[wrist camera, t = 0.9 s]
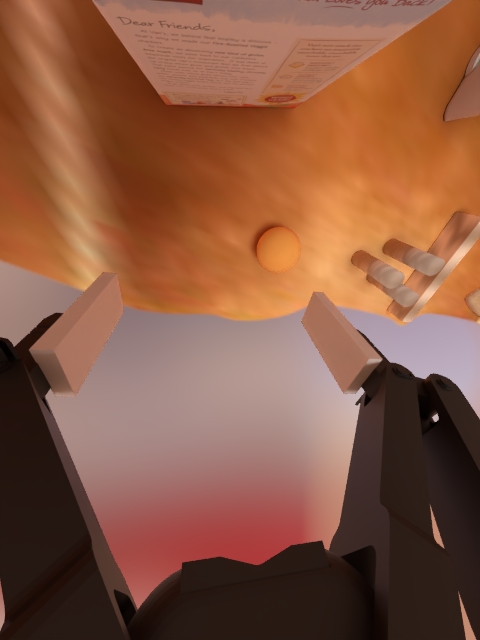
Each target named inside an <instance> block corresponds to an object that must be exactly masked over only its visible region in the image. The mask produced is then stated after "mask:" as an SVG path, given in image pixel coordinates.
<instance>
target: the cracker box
mask: <svg viewBox="0 0 480 640" xmlns="http://www.w3.org/2000/svg"><path fill="white" fill-rule="evenodd" d="M92 1H93V3H94V4H95V6H96V7H97V8H98V10H99V11H100V13H101V14H102V15H103V17H104V18H105V20H106V21H107V23H108V24H109V25H110V27H111V28H112V30H113V31H114V32H115V34H116V35H117V37H118V38H119V39H120V41H121V42H122V44H123V45H124V47H125V48H126V49H127V51H128V52H129V54H130V55H131V56H132V58H133V59H134V61H135V62H136V63H137V65H138V66H139V68H140V69H141V70H142V72H143V73H144V75H145V76H146V77H147V79H148V80H149V82H150V83H151V84H152V86H153V87H154V89H155V90H156V91H157V93H158V94H159V96H160V97H161V99H162V100H163V101H164V102H165V104H166V105H186V106H231V107H276V108H295V107H297V106H298V105H300V104H301V103H303V102H304V101H306V100H307V99H309V98H310V97H312V96H313V95H315V94H316V93H318V92H319V91H320V90H322V89H323V88H325V87H326V86H328V85H329V84H331V83H332V82H334V81H335V80H337V79H338V78H339V77H341V76H342V75H344V74H345V73H347V72H348V71H350V70H351V69H353V68H354V67H356V66H357V65H359V64H360V63H362V62H363V61H365V60H366V59H367V58H369V57H370V56H372V55H373V54H375V53H376V52H378V51H379V50H381V49H382V48H384V47H385V46H387V45H388V44H390V43H391V42H393V41H394V40H396V39H397V38H398V37H400V36H401V35H403V34H404V33H406V32H407V31H409V30H410V29H412V28H413V27H415V26H416V25H417V24H419V23H420V22H422V21H423V20H425V19H426V18H428V17H429V16H431V15H432V14H433V13H435V12H436V11H438V10H439V9H441V8H442V7H444V6H445V5H447V4H448V3H449V2H451V1H452V0H92Z"/></svg>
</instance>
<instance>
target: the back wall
mask: <svg viewBox="0 0 480 640" xmlns="http://www.w3.org/2000/svg"><path fill="white" fill-rule="evenodd" d="M479 237H480V216H476V215H471V214H466V213H461V212H455V214H454V215H453V216H452V218H451V219H450V221H449V222H448V224H447V225H446V226H445V228H444V229H443V231H442V232H441V234H440V235H439V236H438V238H437V239H436V241H435V242H434V244H433V245H432V246H431V248H430V249H429V251H428V252H427V253H430V254H432V255H435V256H437V257H439V258H442V259H444V261H445V264H444V266H443V268H442V269H441V270H440V271H439V272H438V273H437V274H435V275H432V276H427V275H425V274H423V273H422V272H420V271H418V270H416V269H415V271H414V272H413V274H412V275H411V276H410V278H409V279H408V281H407V282H406V284H405V286H406V287H408V288H410V289H411V290H413V291H414V292H416V293H418V294H419V298H418V300H417V301H416V302H415V303H414V304H413V305H411V306H409V307H403V306H402V305H400V304H399V303H398V302H396V301H395V300H394V301H393V302H392V303H391V305H390V306H389V308H388V309H387V310H388V311H390V312H391V313H392V314H393V315H395V316H396V317H397V318H398V319H399V320H401V321H403V322H411V321H412V320H413V319H414V317H415V316H416V315H417V314H418V312H419V311H420V310H421V309H422V307H423V306H424V305H425V304H426V303H427V301H428V300H429V299H430V298H431V296H432V295H433V294H434V293H435V291H436V290H437V289H438V288H439V286H440V285H441V284H442V283H443V282H444V280H445V279H446V278H447V277H448V275H449V274H450V273H451V272H452V270H453V269H454V268H455V267H456V265H457V264H458V263H459V262H460V261H461V259H462V258H463V257H464V256H465V254H466V253H467V252H468V251H469V249H470V248H471V247H472V246H473V245H474V243H475V242H476V241H477V240H478V238H479Z"/></svg>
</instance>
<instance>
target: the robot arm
mask: <svg viewBox="0 0 480 640" xmlns="http://www.w3.org/2000/svg"><path fill="white" fill-rule="evenodd" d="M123 312H124V308H123V303H122V298H121V292H120V287H119V281H118V276H117V274H116V273H105V272H103V273H102V274H101V275H100V276H99V277H98V278H97V279H96V280H95V281H94V282H93V283H92V284H91V286H90V287H89V288H88V289H87V290H86V291H85V292H84V293H83V294H82V295H81V296H80V297H79V298H78V299H77V300H76V301H75V302H74V303H73V304H72V305H71V306H70V307H69V308H68V309H67V311H66V312H65V313H54V314H52V315H50V316H49V317H47V318H45V319H43V320H42V321H41V322H40V323H39V324H38V325H37V327H36V328H34V329H33V330H32V331H31V332H30V334H28V335H27V336H26V337H25V338H23V339H22V340H21V341H20V342H19V343H18V344H17V345H16V346H15V347H14V346H13V344H12V343H11V342H10V341H9V340H8V339H6V338H1V337H0V581H1V587H2V593H3V599H4V605H5V621H4V624H3V626H2V628H1V631H0V640H466V638H465V631H464V625H463V619H462V613H461V606H460V600H459V594H460V597H461V600H462V603H463V605H464V608H465V611H466V614H467V617H468V619H469V622H470V625H471V628H472V630H473V632H474V635H475V637H476V639H477V640H480V419H479V417H478V416H477V414H476V413H475V411H474V410H473V409H472V407H471V405H470V404H469V402H468V401H467V399H466V398H465V396H464V395H463V394H462V392H461V390H460V389H459V388H458V386H457V385H456V384H454V383H453V382H452V381H451V380H450V379H448V378H446V377H444V376H441V375H438V374H430V375H429V376H428V377H427V378H426V379H421V378H418V377H415V376H414V375H413V374H412V372H410V371H409V370H408V369H407V368H405V367H403V366H402V365H399V364H396V363H390V362H389V361H388V360H387V359H386V358H385V357H384V355H383V354H382V353H381V352H380V351H379V350H378V349H377V348H376V347H374V345H373V343H372V342H370V340H369V339H368V338H367V337H366V336H365V335H364V334H363V333H361V332H360V331H359V330H357V329H355V328H354V327H353V325H352V324H351V323H350V322H349V321H348V320H347V319H346V318H345V316H344V315H343V314H342V313H341V312H340V311H339V310H338V309H337V308H336V306H335V305H334V304H333V303H332V302H331V301H330V300H329V299H328V297H327V296H326V295H325V294H324V293H323V292H313V294H312V297H311V299H310V302H309V304H308V307H307V309H306V312H305V314H304V317H303V319H302V321H301V322H302V324H303V326H304V327H305V329H306V331H307V332H308V334H309V336H310V337H311V339H312V341H313V343H314V344H315V346H316V348H317V349H318V351H319V353H320V354H321V356H322V358H323V360H324V361H325V363H326V365H327V366H328V368H329V370H330V371H331V373H332V375H333V376H334V378H335V380H336V382H337V383H338V385H339V387H340V388H341V390H342V392H343V393H344V394H353V393H355V394H356V393H357V391H358V390H359V389H360V388H361V387H362V388H363V389H364V391H365V392H364V394H363V395H362V396H361V397H360V399H359V400H358V401H357V402H356V404H355V405H358V404H359V403H361V404H360V410H359V415H358V421H357V427H356V433H355V439H354V444H353V450H352V456H351V462H350V467H349V473H348V479H347V484H346V490H345V496H344V502H343V507H342V513H341V519H340V524H339V527H338V529H337V531H336V533H335V535H334V536H333V539H332V541H331V544H330V548H329V551H328V550H326V549H325V548H324V545H323V542H322V541H317V542H310V543H304V544H297V545H291V546H290V547H288V548H286V549H285V550H283V551H282V552H280V553H278V554H277V555H275V556H274V557H272V558H270V559H269V560H267V561H266V562H264V563H263V564H261V565H253V564H249V563H244V562H240V561H236V560H232V559H228V558H223V557H216V558H209V559H202V560H196V561H190V562H184V563H182V569H180V570H179V571H177V572H175V573H173V574H172V575H170V576H169V577H168V578H166V579H165V580H164V581H163V582H161V584H159V585H158V586H157V587H156V588H155V589H154V590H153V591H152V592H151V594H150V595H149V596H148V597H147V599H146V600H145V601H144V602H143V603H142V605H141V606H140V608H139V609H137V607H136V604H135V602H134V600H133V597H132V595H131V593H130V590H129V588H128V586H127V584H126V581H125V579H124V577H123V575H122V573H121V571H120V569H119V567H118V565H117V563H116V562H115V560H114V558H113V555H112V553H111V551H110V548H109V546H108V544H107V541H106V539H105V536H104V534H103V532H102V529H101V527H100V525H99V522H98V520H97V518H96V515H95V513H94V510H93V508H92V506H91V503H90V501H89V499H88V496H87V494H86V491H85V489H84V487H83V484H82V482H81V480H80V477H79V475H78V473H77V470H76V468H75V465H74V463H73V461H72V458H71V456H70V454H69V451H68V449H67V446H66V444H65V442H64V440H63V437H62V435H61V432H60V430H59V428H58V425H57V423H56V421H55V418H54V416H53V413H52V411H51V409H50V406H49V404H48V402H47V400H46V398H45V395H46V394H47V392H48V391H49V390H50V388H51V390H52V391H53V393H54V395H55V396H56V397H59V396H61V397H63V396H76V395H77V393H78V391H79V390H80V388H81V386H82V384H83V382H84V381H85V379H86V377H87V375H88V374H89V372H90V370H91V368H92V367H93V365H94V363H95V361H96V359H97V358H98V356H99V354H100V353H101V351H102V349H103V347H104V345H105V344H106V342H107V340H108V338H109V337H110V335H111V333H112V331H113V330H114V328H115V326H116V324H117V323H118V321H119V319H120V317H121V315H122V314H123ZM437 413H438V416H439V420H438V421H437V422H434V420H433V418H432V417H433V416H434V415H435V414H437ZM430 505H431V508H432V511H433V514H434V517H435V520H436V523H437V527H438V529H439V532H440V536H441V539H442V542H443V545H444V548H445V549H444V548H442V547H441V546H440V545H439V544H437V542H436V541H435V539H434V535H433V529H432V520H431V511H430ZM458 591H459V594H458Z"/></svg>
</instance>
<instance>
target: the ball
mask: <svg viewBox="0 0 480 640" xmlns="http://www.w3.org/2000/svg"><path fill="white" fill-rule="evenodd" d="M300 251H301V246H300V241H299V239H298V237H297V235H296V234H295V233H294V232H293V231H292V230H290V229H288V228H285V227H274V228H272V229H269V230H268V231H266V232H265V233H264V234H263V235H262V236H261V238H260V239H259V242H258V244H257V258H258V260H259V262H260V264H261V265H262V266H263V267H264V268H265V269H267V270H268V271H271V272H276V273H278V272H284V271H287V270H288V269H290V268H291V267H293V266H294V265H295V263H296V262H297V260H298V258H299V256H300Z"/></svg>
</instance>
